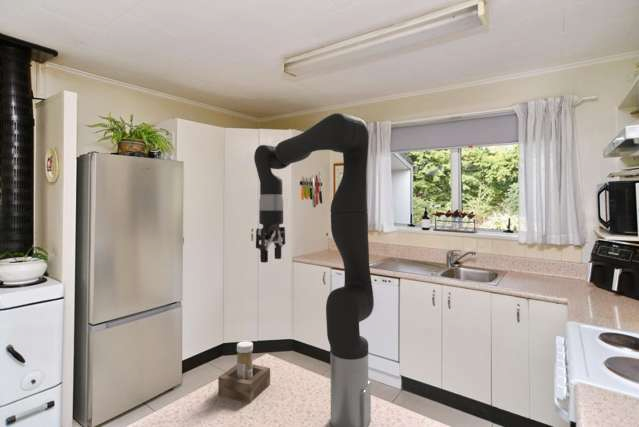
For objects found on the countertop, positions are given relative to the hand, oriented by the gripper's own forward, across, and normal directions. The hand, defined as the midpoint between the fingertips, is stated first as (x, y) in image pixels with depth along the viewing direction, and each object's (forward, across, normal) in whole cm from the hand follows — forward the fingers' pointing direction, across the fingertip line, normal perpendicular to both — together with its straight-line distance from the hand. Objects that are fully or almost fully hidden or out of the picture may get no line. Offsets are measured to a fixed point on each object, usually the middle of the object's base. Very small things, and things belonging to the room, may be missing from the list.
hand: (271, 260), depth 106 cm
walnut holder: (+36, -11, +2) cm, 38 cm away
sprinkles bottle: (+36, -11, +2) cm, 38 cm away
